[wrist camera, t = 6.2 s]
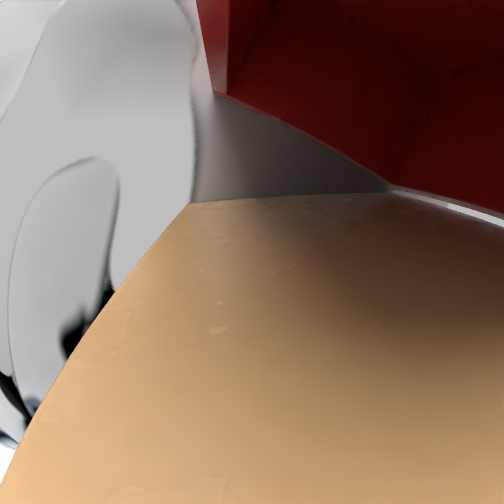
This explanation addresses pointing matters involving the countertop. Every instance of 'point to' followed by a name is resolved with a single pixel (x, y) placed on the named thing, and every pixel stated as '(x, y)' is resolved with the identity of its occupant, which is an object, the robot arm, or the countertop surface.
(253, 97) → the cabinet
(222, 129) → the countertop surface
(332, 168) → the countertop surface
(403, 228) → the door
